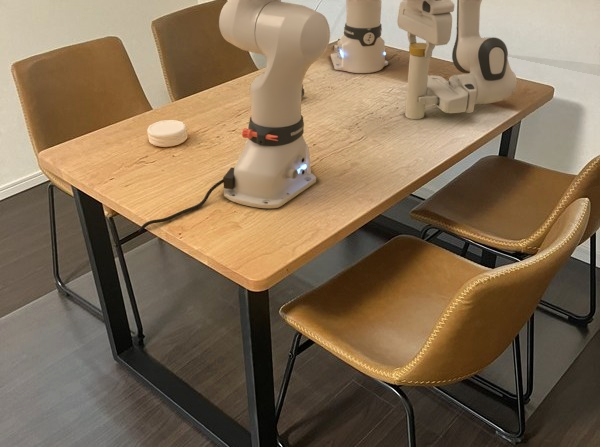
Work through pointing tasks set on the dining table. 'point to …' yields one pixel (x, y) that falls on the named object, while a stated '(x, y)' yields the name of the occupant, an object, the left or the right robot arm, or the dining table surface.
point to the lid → (417, 49)
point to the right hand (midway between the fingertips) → (413, 96)
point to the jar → (416, 86)
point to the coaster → (167, 133)
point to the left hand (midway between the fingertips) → (420, 53)
